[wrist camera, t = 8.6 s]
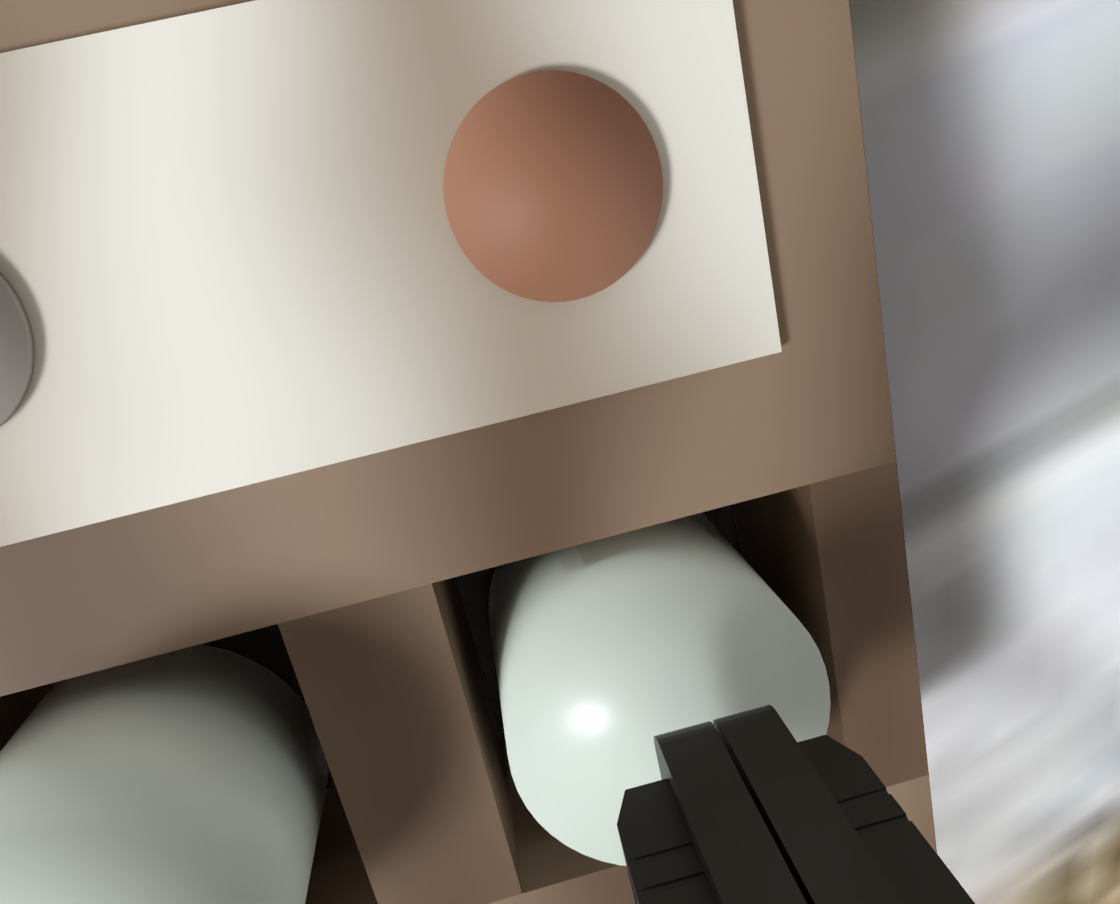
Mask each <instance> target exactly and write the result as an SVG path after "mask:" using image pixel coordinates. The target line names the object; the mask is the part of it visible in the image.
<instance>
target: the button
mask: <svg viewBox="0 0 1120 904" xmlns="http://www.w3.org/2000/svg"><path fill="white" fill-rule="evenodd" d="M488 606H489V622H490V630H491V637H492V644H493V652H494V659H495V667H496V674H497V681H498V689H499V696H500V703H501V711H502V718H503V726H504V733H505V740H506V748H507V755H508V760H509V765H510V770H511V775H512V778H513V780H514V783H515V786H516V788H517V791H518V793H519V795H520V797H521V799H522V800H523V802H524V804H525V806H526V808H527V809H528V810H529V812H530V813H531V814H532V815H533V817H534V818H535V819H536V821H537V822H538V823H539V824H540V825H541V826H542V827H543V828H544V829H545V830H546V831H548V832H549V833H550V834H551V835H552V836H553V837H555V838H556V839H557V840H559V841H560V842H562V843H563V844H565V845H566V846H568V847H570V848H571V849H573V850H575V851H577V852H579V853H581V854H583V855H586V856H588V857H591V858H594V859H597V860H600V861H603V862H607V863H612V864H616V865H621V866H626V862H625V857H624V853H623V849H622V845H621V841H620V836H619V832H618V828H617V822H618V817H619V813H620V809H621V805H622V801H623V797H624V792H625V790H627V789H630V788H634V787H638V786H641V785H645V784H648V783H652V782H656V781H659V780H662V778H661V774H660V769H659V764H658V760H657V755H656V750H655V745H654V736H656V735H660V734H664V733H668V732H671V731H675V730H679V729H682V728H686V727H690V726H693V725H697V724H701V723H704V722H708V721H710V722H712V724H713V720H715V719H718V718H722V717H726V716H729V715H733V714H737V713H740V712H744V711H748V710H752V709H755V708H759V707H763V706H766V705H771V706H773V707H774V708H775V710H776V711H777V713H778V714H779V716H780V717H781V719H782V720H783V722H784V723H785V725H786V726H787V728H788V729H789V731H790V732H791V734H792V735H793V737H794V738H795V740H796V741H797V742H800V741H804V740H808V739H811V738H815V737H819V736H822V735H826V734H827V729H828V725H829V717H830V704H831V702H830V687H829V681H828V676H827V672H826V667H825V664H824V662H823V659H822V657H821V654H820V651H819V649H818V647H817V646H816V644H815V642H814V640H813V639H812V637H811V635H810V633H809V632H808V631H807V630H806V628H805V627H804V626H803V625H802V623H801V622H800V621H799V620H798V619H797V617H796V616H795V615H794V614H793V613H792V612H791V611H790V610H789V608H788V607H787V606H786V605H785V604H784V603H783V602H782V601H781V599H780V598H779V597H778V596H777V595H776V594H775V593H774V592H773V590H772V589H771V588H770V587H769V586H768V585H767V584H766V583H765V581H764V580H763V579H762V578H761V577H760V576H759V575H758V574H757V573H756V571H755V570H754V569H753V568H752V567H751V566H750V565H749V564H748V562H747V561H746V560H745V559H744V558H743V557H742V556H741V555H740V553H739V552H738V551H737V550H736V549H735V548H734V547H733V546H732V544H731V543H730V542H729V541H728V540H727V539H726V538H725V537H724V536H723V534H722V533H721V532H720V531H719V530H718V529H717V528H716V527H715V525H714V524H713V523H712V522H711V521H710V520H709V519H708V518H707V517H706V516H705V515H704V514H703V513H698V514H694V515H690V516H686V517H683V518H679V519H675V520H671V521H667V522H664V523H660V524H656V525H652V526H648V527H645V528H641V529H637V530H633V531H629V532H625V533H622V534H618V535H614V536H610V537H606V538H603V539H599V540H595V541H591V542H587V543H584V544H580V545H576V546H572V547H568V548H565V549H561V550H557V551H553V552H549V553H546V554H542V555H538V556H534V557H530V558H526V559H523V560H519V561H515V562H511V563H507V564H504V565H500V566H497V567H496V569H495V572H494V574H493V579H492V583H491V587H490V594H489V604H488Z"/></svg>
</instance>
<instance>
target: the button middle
mask: <svg viewBox="0 0 1120 904" xmlns="http://www.w3.org/2000/svg"><path fill="white" fill-rule="evenodd" d="M327 783H328V763H327V760H326V758H325V755H324V752H323V749H322V746H321V744H320V741H319V738H318V735H317V732H316V730H315V727H314V724H313V721H312V719H311V716H310V713H309V710H308V707H307V705H306V704H305V702H304V701H303V700H302V699H301V698H300V697H299V695H298V694H297V693H296V692H295V691H294V690H293V689H292V688H291V687H290V686H289V685H288V684H287V683H285V682H284V681H283V680H282V679H281V678H280V677H278V676H277V675H275V674H274V673H273V672H271V671H270V670H268V669H267V668H265V667H264V666H262V665H260V664H258V663H256V662H254V661H252V660H250V659H248V658H246V657H244V656H241V655H239V654H236V653H233V652H231V651H228V650H224V649H220V648H217V647H213V646H209V645H202V644H199V645H195V646H191V647H188V648H184V649H180V650H176V651H172V652H168V653H165V654H161V655H157V656H153V657H149V658H146V659H142V660H138V661H134V662H130V663H127V664H123V665H119V666H115V667H111V668H108V669H104V670H100V671H96V672H92V673H89V674H85V675H81V676H77V677H73V678H69V679H66V680H62V681H59V682H58V683H57V684H56V685H54V687H53V688H52V689H51V690H50V691H49V692H48V693H47V694H46V695H45V697H44V698H43V699H42V700H41V701H40V702H39V704H38V705H37V706H36V707H35V709H34V710H33V711H32V712H31V714H30V715H29V716H28V717H27V719H26V720H25V721H24V722H23V724H22V725H21V726H20V727H19V729H18V730H17V731H16V732H15V734H14V735H13V736H12V737H11V739H10V740H9V741H8V742H7V744H6V745H5V746H4V747H3V749H2V750H1V751H0V904H305V901H306V896H307V890H308V885H309V880H310V874H311V869H312V863H313V858H314V853H315V847H316V842H317V837H318V831H319V826H320V820H321V815H322V810H323V804H324V799H325V793H326V788H327Z"/></svg>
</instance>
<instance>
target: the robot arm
mask: <svg viewBox="0 0 1120 904" xmlns="http://www.w3.org/2000/svg"><path fill="white" fill-rule="evenodd" d="M654 745H655V750H656V755H657V760H658V764H659V769H660V774H661V778H662V780H659V781H656V782H652V783H648V784H645V785H641V786H638V787H634V788H630V789H627V790H625V792H624V797H623V801H622V805H621V809H620V813H619V817H618V822H617V828H618V832H619V836H620V841H621V845H622V849H623V853H624V857H625V862H626V866H627V870H628V874H629V878H630V883H631V887H632V891H633V895H634V899H635V904H975V903H974V902H973V900H972V899H971V898H970V897H969V895H968V894H967V893H966V891H965V890H964V889H963V887H962V886H961V885H960V883H959V882H958V881H957V880H956V878H955V877H954V876H953V874H952V873H951V872H950V870H949V869H948V868H947V866H946V865H945V864H944V863H943V861H942V860H941V859H940V857H939V856H938V855H937V853H936V852H935V851H934V850H933V848H932V847H931V846H930V844H929V843H928V842H927V840H926V839H925V838H924V836H923V835H922V834H921V833H920V831H919V830H918V829H917V827H916V826H915V825H914V823H913V822H912V821H909V820H908V818H907V815H906V813H905V812H904V810H903V809H902V808H901V806H900V805H899V804H898V802H897V801H896V800H895V799H894V797H893V796H892V795H891V794H888V792H887V789H886V787H885V785H884V784H883V783H882V782H881V780H880V779H879V778H878V776H877V775H876V774H875V772H874V771H873V770H872V768H871V767H870V766H869V765H868V763H867V762H866V761H865V759H864V758H863V757H862V756H861V755H859V754H857V753H856V752H854V751H852V750H851V749H849V748H847V747H846V746H844V745H842V744H841V743H839V742H837V741H836V740H834V739H832V738H831V737H829V736H827V735H822V736H819V737H815V738H811V739H808V740H804V741H800V742H797V741H796V740H795V738H794V737H793V735H792V734H791V732H790V731H789V729H788V728H787V726H786V725H785V723H784V722H783V720H782V719H781V717H780V716H779V714H778V713H777V711H776V710H775V708H774V707H773V706H771V705H766V706H763V707H759V708H755V709H752V710H748V711H744V712H740V713H737V714H733V715H729V716H726V717H722V718H718V719H715V720H713V724H712V722H710V721H708V722H704V723H701V724H697V725H693V726H690V727H686V728H682V729H679V730H675V731H671V732H668V733H664V734H660V735H656V736H654Z"/></svg>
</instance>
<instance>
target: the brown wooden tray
mask: <svg viewBox="0 0 1120 904" xmlns="http://www.w3.org/2000/svg"><path fill="white" fill-rule="evenodd" d="M732 504H733V510H734V516H735V522H736V528H737V534H738V540H739V546H740V552H741V556H742V557H743V558H744V559H745V560H746V561H747V562H748V564H749V565H750V566H751V567H752V568H753V569H754V570H755V571H756V573H757V574H758V575H759V576H760V577H761V578H762V579H763V580H764V581H765V583H766V584H767V585H768V586H769V587H770V588H771V589H772V590H773V592H774V593H775V594H776V595H777V596H778V597H779V598H780V599H781V601H782V602H783V603H784V604H785V605H786V606H787V607H788V608H789V610H790V611H791V612H792V613H793V614H794V615H795V616H796V617H797V619H798V620H799V621H800V622H801V623H802V625H803V626H804V627H805V628H806V630H807V631H808V632H809V633H810V635H811V637H812V639H813V640H814V642H815V644H816V646H817V647H818V649H819V651H820V654H821V657H822V659H823V662H824V664H825V667H826V672H827V676H828V681H829V687H830V702H831V704H830V717H829V725H828V729H827V734H826V735H827V736H829V737H831V738H832V739H834V740H836V741H837V742H839V743H841V744H842V745H844V746H846V747H847V748H849V749H851V750H852V751H854V752H856V753H857V754H859V755H861V756H862V757H863V758H864V759H865V761H866V762H867V763H868V765H869V766H870V767H871V768H872V770H873V771H874V772H875V774H876V775H877V776H878V778H879V779H880V780H881V782H882V783H883V784H884V785H885V787H886V789H887V792H888V794H891V795H892V796H893V797H894V799H895V800H896V801H897V802H898V804H899V805H900V806H901V808H902V809H903V810H904V812H905V813H906V815H907V818H908V820H909V821H912V822H913V823H914V825H915V826H916V827H917V829H918V830H919V831H920V833H921V834H922V835H923V836H924V838H925V839H926V840H927V842H928V843H929V844H930V846H931V847H932V848H933V850H934V851H935V852H936V853H937V850H936V840H935V831H934V821H933V811H932V802H931V792H930V782H929V773H928V763H927V753H926V744H925V734H924V724H923V715H922V705H921V695H920V686H919V676H918V666H917V657H916V647H915V637H914V627H913V618H912V608H911V598H910V589H909V579H908V569H907V560H906V550H905V540H904V531H903V521H902V511H901V502H900V492H899V482H898V473H897V463H896V453H895V443H894V434H893V424H892V414H891V405H890V395H889V385H888V376H887V366H886V356H885V347H884V337H883V327H882V318H881V308H880V298H879V289H878V279H877V269H876V260H875V250H874V240H873V230H872V221H871V211H870V201H869V192H868V182H867V172H866V163H865V153H864V143H863V134H862V124H861V114H860V105H859V95H858V85H857V76H856V66H855V56H854V47H853V37H852V27H851V17H850V8H849V0H0V751H1V750H2V749H3V747H4V746H5V745H6V744H7V742H8V741H9V740H10V739H11V737H12V736H13V735H14V734H15V732H16V731H17V730H18V729H19V727H20V726H21V725H22V724H23V722H24V721H25V720H26V719H27V717H28V716H29V715H30V714H31V712H32V711H33V710H34V709H35V707H36V706H37V705H38V704H39V702H40V701H41V700H42V699H43V698H44V697H45V695H46V694H47V693H48V692H49V691H50V690H51V687H50V685H49V684H50V683H54V682H58V681H62V680H66V679H69V678H73V677H77V676H81V675H85V674H89V673H92V672H96V671H100V670H104V669H108V668H111V667H115V666H119V665H123V664H127V663H130V662H134V661H138V660H142V659H146V658H149V657H153V656H157V655H161V654H165V653H168V652H172V651H176V650H180V649H184V648H188V647H191V646H195V645H199V644H203V643H207V642H210V641H214V640H218V639H222V638H226V637H229V636H233V635H237V634H241V633H245V632H248V631H252V630H256V629H260V628H264V627H268V626H271V625H275V624H278V627H279V629H280V632H281V635H282V638H283V640H284V643H285V646H286V649H287V652H288V654H289V657H290V660H291V663H292V666H293V668H294V671H295V674H296V677H297V679H298V682H299V685H300V688H301V691H302V693H303V696H304V699H305V702H306V705H307V707H308V710H309V713H310V716H311V719H312V721H313V724H314V727H315V730H316V732H317V735H318V738H319V741H320V744H321V746H322V749H323V752H324V755H325V758H326V760H327V763H328V766H329V769H330V772H331V774H332V777H333V780H334V783H335V785H336V786H333V787H330V788H326V793H325V799H324V804H323V810H322V815H321V820H320V826H319V831H318V837H317V842H316V847H315V853H314V858H313V863H312V869H311V874H310V880H309V885H308V890H307V896H306V901H305V904H635V899H634V895H633V891H632V887H631V883H630V878H629V874H628V870H627V866H621V865H616V864H612V863H607V862H603V861H600V860H597V859H594V858H591V857H588V856H586V855H583V854H581V853H579V852H577V851H575V850H573V849H571V848H570V847H568V846H566V845H565V844H563V843H562V842H560V841H559V840H557V839H556V838H555V837H553V836H552V835H551V834H550V833H549V832H548V831H546V830H545V829H544V828H543V827H542V826H541V825H540V824H539V823H538V822H537V821H536V819H535V818H534V817H533V815H532V814H531V813H530V812H529V810H528V809H527V808H526V806H525V804H524V802H523V800H522V799H521V797H520V795H519V793H518V791H517V788H516V786H515V783H514V780H513V778H512V775H511V770H510V765H509V760H508V755H507V748H506V740H505V739H502V737H501V733H500V730H499V726H498V723H497V719H496V716H495V712H494V709H493V705H492V701H491V698H490V694H489V691H488V687H487V684H486V680H485V677H484V673H483V669H482V666H481V662H480V659H479V655H478V652H477V648H476V645H475V641H474V637H473V634H472V630H471V627H470V623H469V620H468V616H467V613H466V609H465V605H464V602H463V598H462V595H461V591H460V588H459V584H458V581H457V577H458V576H462V575H466V574H469V573H473V572H477V571H481V570H485V569H488V568H492V567H496V566H500V565H504V564H507V563H511V562H515V561H519V560H523V559H526V558H530V557H534V556H538V555H542V554H546V553H549V552H553V551H557V550H561V549H565V548H568V547H572V546H576V545H580V544H584V543H587V542H591V541H595V540H599V539H603V538H606V537H610V536H614V535H618V534H622V533H625V532H629V531H633V530H637V529H641V528H645V527H648V526H652V525H656V524H660V523H664V522H667V521H671V520H675V519H679V518H683V517H686V516H690V515H694V514H698V513H702V512H705V511H709V510H713V509H717V508H721V507H725V506H728V505H732Z"/></svg>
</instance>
